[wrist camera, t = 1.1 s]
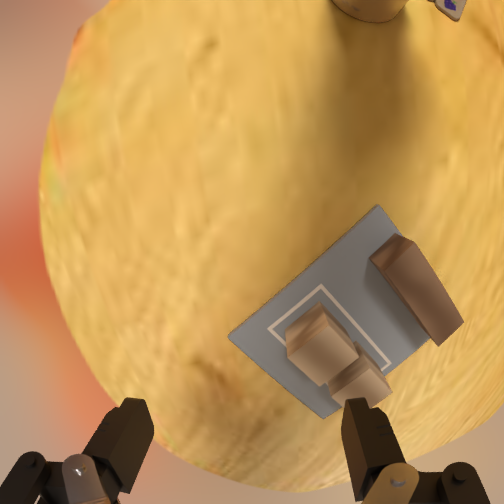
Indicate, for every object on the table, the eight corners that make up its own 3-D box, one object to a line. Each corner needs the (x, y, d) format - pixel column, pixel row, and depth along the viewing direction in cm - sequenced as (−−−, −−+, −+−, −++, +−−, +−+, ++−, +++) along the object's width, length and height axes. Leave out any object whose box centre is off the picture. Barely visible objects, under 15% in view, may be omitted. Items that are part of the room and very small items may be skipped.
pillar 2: (356, 340, 34) (369, 368, 28) (377, 363, 35) (392, 392, 29) (322, 365, 35) (330, 396, 29) (346, 387, 36) (356, 418, 30)
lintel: (394, 232, 31) (414, 242, 26) (443, 305, 32) (464, 322, 28) (368, 257, 32) (384, 271, 27) (420, 327, 33) (438, 346, 28)
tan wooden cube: (319, 300, 33) (329, 325, 27) (346, 329, 34) (359, 357, 28) (284, 329, 34) (287, 357, 28) (312, 356, 35) (319, 386, 29)
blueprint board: (376, 204, 31) (379, 205, 30) (451, 312, 33) (454, 315, 33) (228, 334, 35) (227, 337, 34) (322, 415, 38) (323, 419, 37)
